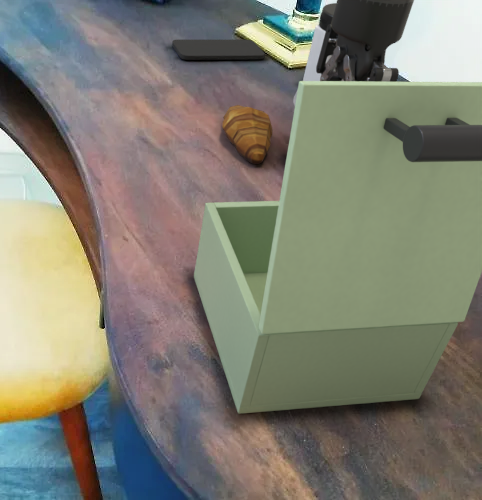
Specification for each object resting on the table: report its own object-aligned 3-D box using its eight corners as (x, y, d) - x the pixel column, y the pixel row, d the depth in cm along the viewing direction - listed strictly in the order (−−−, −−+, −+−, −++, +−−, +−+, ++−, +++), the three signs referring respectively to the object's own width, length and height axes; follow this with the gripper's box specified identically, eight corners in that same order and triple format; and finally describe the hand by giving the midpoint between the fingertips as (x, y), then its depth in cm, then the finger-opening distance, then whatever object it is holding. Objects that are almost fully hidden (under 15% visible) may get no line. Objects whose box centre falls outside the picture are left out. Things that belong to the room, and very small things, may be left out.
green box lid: (298, 80, 37) (337, 108, 32) (538, 82, 40) (605, 108, 35) (257, 327, 45) (284, 377, 41) (458, 315, 48) (503, 360, 44)
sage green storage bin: (193, 276, 64) (205, 202, 58) (341, 269, 66) (366, 198, 61) (238, 413, 51) (258, 335, 45) (419, 399, 53) (459, 323, 48)
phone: (267, 55, 109) (182, 56, 106) (266, 60, 110) (181, 60, 106) (252, 39, 115) (170, 39, 111) (251, 44, 115) (170, 44, 112)
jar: (319, 72, 107) (338, -2, 100) (365, 88, 104) (388, 12, 96) (293, 87, 101) (311, 10, 94) (341, 105, 98) (363, 25, 90)
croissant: (283, 168, 81) (291, 133, 78) (230, 168, 81) (237, 132, 77) (256, 118, 92) (263, 85, 89) (210, 117, 91) (215, 84, 88)
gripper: (446, 13, 62) (391, 161, 72) (381, -30, 73) (342, 103, 83) (373, 11, 61) (328, 161, 71) (319, -33, 72) (287, 103, 82)
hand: (336, 130), depth 77 cm, fingers closed on food container, 7 cm apart
